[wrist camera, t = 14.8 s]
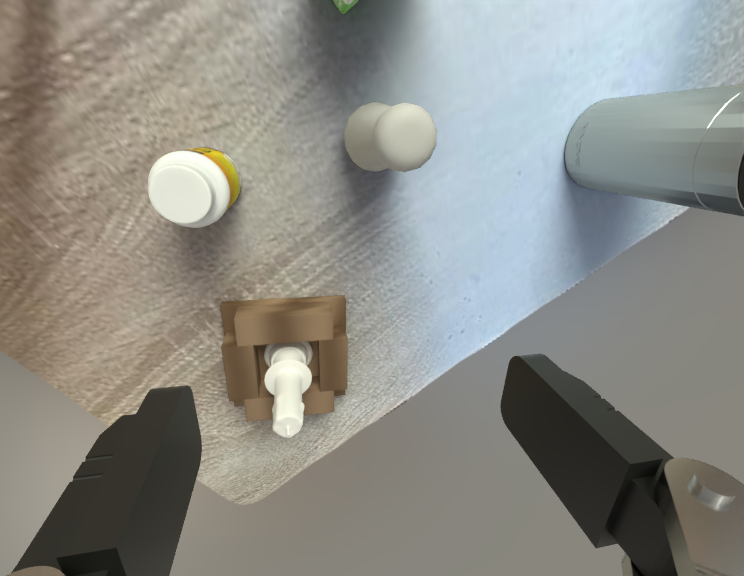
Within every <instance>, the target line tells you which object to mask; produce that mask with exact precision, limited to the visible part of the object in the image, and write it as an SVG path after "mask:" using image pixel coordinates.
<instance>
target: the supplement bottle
mask: <svg viewBox="0 0 744 576" xmlns="http://www.w3.org/2000/svg"><path fill="white" fill-rule="evenodd" d="M241 186H242V180H241V175H240V172H239V169H238V167H237V166H236V164H235V163H234V161H233V160H232V159H231V158H230V157H229V156H227V155H226V154H224V153H223V152H221V151H219V150H216V149H213V148H195V149H188V150H181V151H175V152H171V153H169V154H166V155H164V156H163V157H161V158H160V159H159V160H158V161H157V162H156V163H155V164H154V165H153V167H152V169H151V171H150V174H149V177H148V192H149V198H150V201H151V203H152V205H153V207H154V208H155V210H156V211H157V212H158V213H159V214H160V215H161V216H163V217H164V218H166V219H167V220H169V221H172V222H173V223H176V224H178V225H181V226H184V227H191V228H199V227H205V226H208V225H210V224H212V223H214V222H216V221H217V220H218V219H220V218H221V217H222V216H223V214H224V213H225V212H226V211H227V210H228V209H229V207H230V206H231V205H232V204H233V203H234V202H235V201H236V199H237V198H238V196H239V194H240V191H241Z"/></svg>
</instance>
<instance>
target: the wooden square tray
mask: <svg viewBox="0 0 744 576" xmlns="http://www.w3.org/2000/svg"><path fill="white" fill-rule="evenodd" d="M221 313H222V320H223V327H224V334H225V338H224V341H223V344H222V347H221V348H222V355H223V362H224V369H225V375H226V382H227V389H228V396H229V401H234V405H235V406H244V405H245V411H246V418H247V422H248V421H257V420H266V419H273V412H272V408H273V405H274V397H275V395H273V394H271V393H270V392H269V391H268V390H267V388H266V386H265V382H264V378H265V374H266V372H267V371H268V369H269V367H268V365H267V364H266V362H265V359H264V351H265V348H266V346H267V345H268V344H277V343H291V342H304V341H308V342H309V343H310V345H311V347H312V351H313V356H312V360H311V362H310V363H309V365H308V366H307V367H308V368H309V370H310V371H311V375H312V381H311V384H310V386H309V388H308V389H307V390H306V391H305V392H304V393H303V394H302V402H303V403H304V406H305V407H304V412H303V415H310V414H319V413H328V412H334V396H339V395H345V389H347V335H346V298H345V295H343V296H324V297H304V298H285V299H266V300H246V301H227V302H222V303H221Z"/></svg>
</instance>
